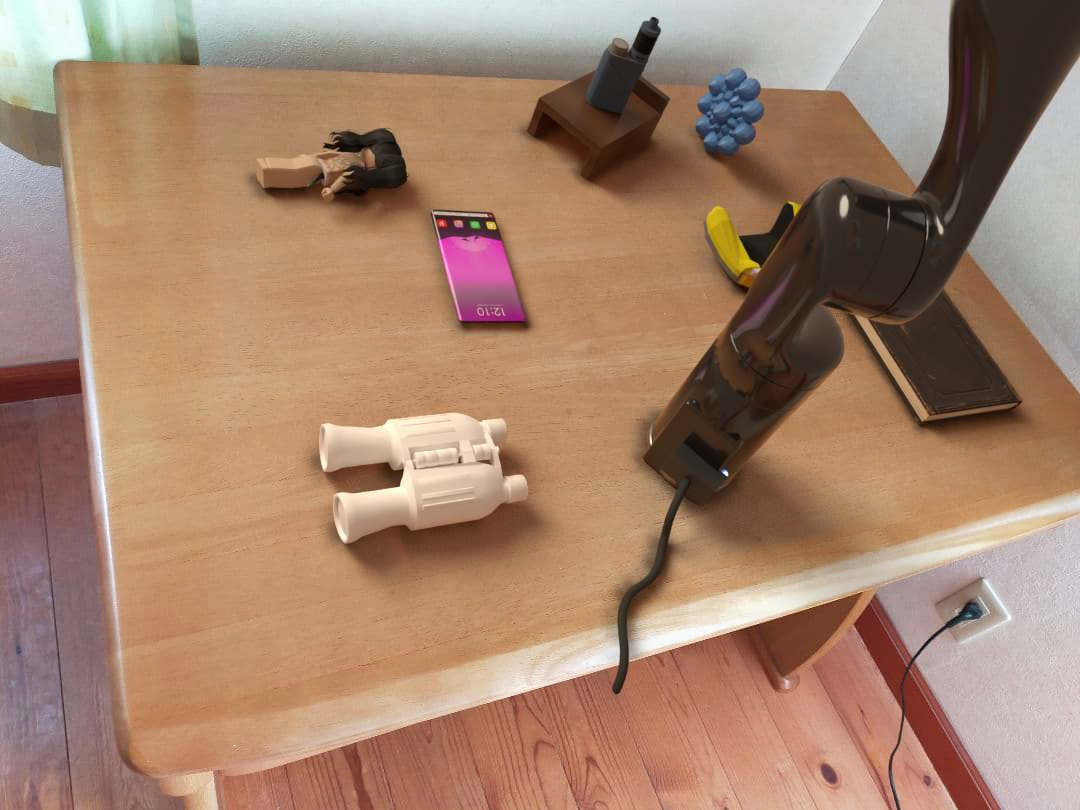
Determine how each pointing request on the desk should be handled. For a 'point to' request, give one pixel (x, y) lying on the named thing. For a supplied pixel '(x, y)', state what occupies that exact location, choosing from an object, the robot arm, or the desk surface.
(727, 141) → the grapes
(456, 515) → the binoculars
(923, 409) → the hardcover book
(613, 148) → the shelf
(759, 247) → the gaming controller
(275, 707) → the desk surface
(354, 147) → the toy figure
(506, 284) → the smartphone
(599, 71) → the vaping device
